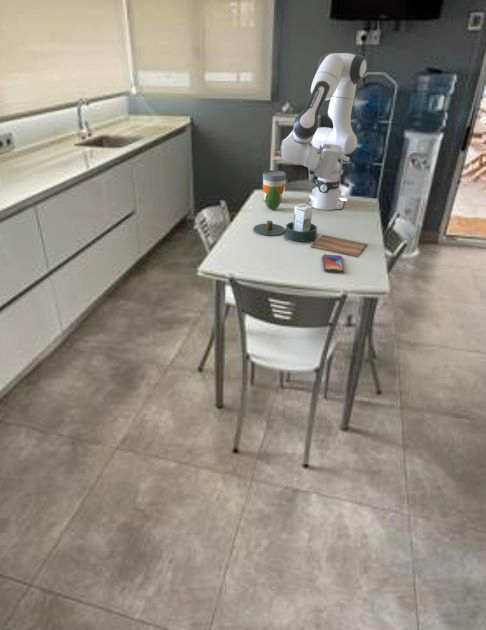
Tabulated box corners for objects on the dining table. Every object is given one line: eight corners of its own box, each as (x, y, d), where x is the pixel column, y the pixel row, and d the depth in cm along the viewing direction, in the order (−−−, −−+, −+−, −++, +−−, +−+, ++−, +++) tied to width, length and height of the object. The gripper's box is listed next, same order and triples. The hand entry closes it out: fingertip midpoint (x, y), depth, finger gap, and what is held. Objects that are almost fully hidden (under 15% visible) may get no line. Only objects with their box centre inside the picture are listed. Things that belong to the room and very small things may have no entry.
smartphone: (341, 257, 184) (341, 255, 184) (343, 273, 172) (343, 270, 171) (322, 256, 185) (323, 254, 185) (323, 271, 172) (324, 269, 172)
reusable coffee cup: (268, 195, 256) (270, 169, 248) (288, 200, 250) (290, 172, 242) (256, 201, 247) (258, 173, 240) (276, 205, 241) (278, 177, 234)
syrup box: (299, 233, 206) (302, 202, 198) (309, 237, 202) (313, 206, 194) (291, 237, 202) (294, 205, 195) (301, 240, 199) (305, 208, 191)
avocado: (276, 206, 240) (277, 184, 234) (282, 211, 234) (283, 188, 228) (262, 207, 238) (263, 185, 232) (267, 212, 232) (269, 189, 225)
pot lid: (261, 223, 217) (262, 214, 214) (289, 229, 211) (290, 219, 209) (247, 233, 206) (248, 223, 204) (277, 239, 200) (277, 229, 198)
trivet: (322, 236, 205) (322, 234, 204) (366, 244, 196) (366, 243, 196) (311, 247, 193) (311, 245, 193) (357, 257, 185) (357, 255, 185)
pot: (292, 230, 210) (293, 219, 207) (319, 236, 205) (321, 225, 202) (280, 239, 200) (281, 228, 197) (309, 246, 194) (310, 234, 192)
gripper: (322, 137, 187) (354, 145, 187) (312, 165, 207) (341, 173, 206) (319, 149, 185) (351, 158, 185) (308, 177, 205) (338, 185, 205)
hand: (345, 166), depth 196 cm, fingers open, 8 cm apart
